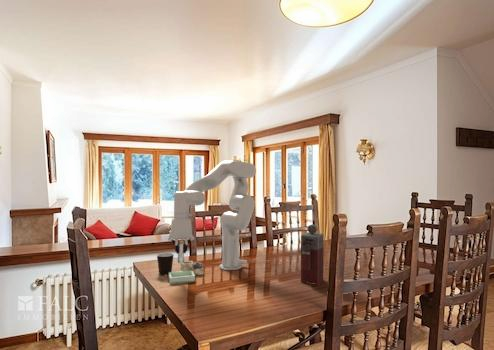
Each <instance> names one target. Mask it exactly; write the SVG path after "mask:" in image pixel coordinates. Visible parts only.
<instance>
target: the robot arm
mask: <svg viewBox="0 0 494 350" xmlns="http://www.w3.org/2000/svg"><path fill="white" fill-rule="evenodd" d="M256 173H257V168H256V166H255V165H254V164H253V163H251V162H245V161H240V160H223V161H220V162H219V163H218V164H217V165H216V166H215V167H214V168H213V169H212V170H211V171H210V172H208V174H206V175H204V176H203V177H201V178H199V179H198V180H196V181H194V182H192V183H191V184H190V185H189V186H187V187H186V188H185V189H184V190H182V191H178V190H177V191H175V192H174V193H173V194H174V195H173V196H174V197H173V218H171V224H170V234H169V236H168V238H167V241H169V242H171V243H172V244H174V245H175V246H174V247H175V248H174V249H175V250H174V252H176V254H177V255H178V249H179V246H178V240H185V242H184V254H186V253H187V252H188V244H190V243H191V242H192V241H193V240H195V236H194V235H193V230H192V229H193V228H192V221H191V218H190V217H192V216H193V213H190V206H201V205H203V204H204V203H205V201H206V196H205V193H204V192H206V191H209V190H214V189H215V188H217V187H219V186H220V185H221V184H222V183H223V182H224V181H225V179H227V178H228V177H232V178H233V189H232V191H231V192H232V193H231V195H230V198H229V201H228V208H229V209H231V210H233V211H225V212H223V214H222V215H221V216H220V226H221V238H222V239H221V241H222V243H221V251H222V252H221V258H222V259H221V264H219V266H218V267H219V269H221V270H224V271H236V270H240V269H242V267H243V264H244V265H246V264H248V260H247V259H240V235H239V231H244V230H246V229H247V228H248V227H249V224H250V222H251V219H252V215H253V212H254V209H255V199H254V197H253V196H252V195H250V194H248V192H249V183H248V180H247V179H252V178H253V177H255V175H256ZM236 211H237V212H236Z"/></svg>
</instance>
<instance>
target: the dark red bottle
mask: <svg viewBox="0 0 494 350" xmlns="http://www.w3.org/2000/svg"><path fill="white" fill-rule="evenodd" d="M317 231H318V227H317V225H315V224H310V225H308V226H307V232H305V233H303V234H301V235H300V283H302V282H309V283H315V284H319V283H320V282H321V281H322V280H323V281H324V233H321V232H317ZM323 281H322V282H323ZM322 282H321V283H322ZM321 283H320V284H321ZM320 284H319V285H320Z"/></svg>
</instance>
